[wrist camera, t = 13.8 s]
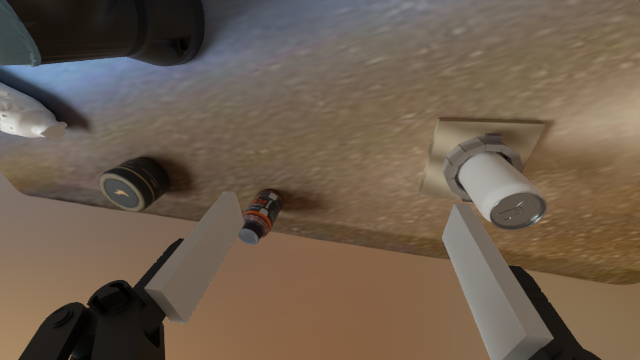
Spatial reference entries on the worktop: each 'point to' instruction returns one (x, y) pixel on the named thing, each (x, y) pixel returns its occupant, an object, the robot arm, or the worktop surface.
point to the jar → (134, 184)
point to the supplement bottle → (260, 216)
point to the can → (501, 191)
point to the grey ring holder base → (474, 150)
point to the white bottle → (27, 116)
